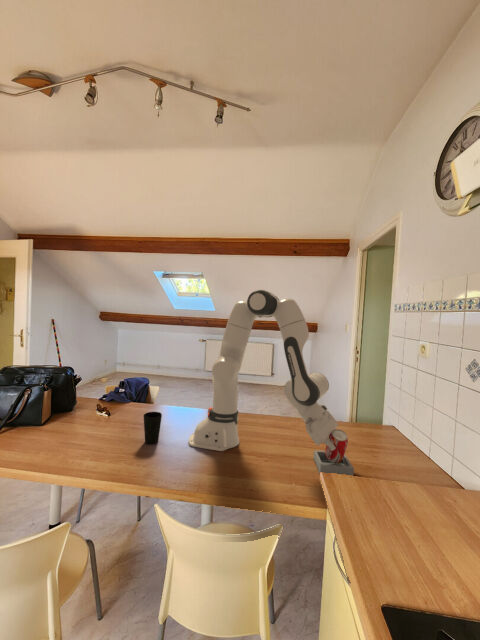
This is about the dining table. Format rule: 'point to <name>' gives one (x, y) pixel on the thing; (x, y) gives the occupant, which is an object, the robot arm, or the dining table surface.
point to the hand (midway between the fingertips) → (337, 445)
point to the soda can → (337, 446)
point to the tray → (332, 464)
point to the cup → (152, 427)
